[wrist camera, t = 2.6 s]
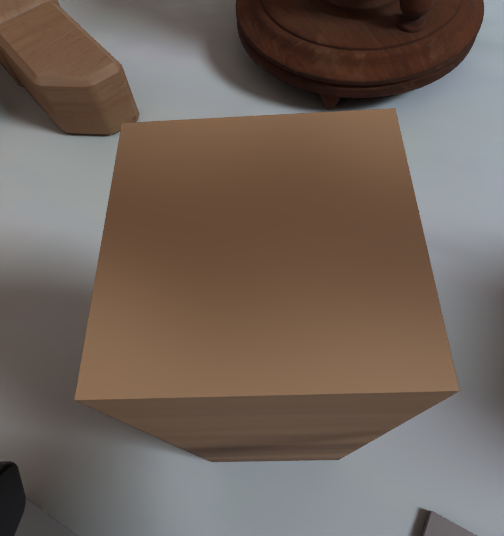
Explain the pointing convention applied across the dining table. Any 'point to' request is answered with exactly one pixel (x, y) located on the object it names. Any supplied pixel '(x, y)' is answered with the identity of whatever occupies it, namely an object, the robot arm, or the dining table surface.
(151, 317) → the walnut column
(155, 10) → the dining table surface
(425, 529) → the card
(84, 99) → the wooden block set
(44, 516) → the slate block
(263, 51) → the scroll
